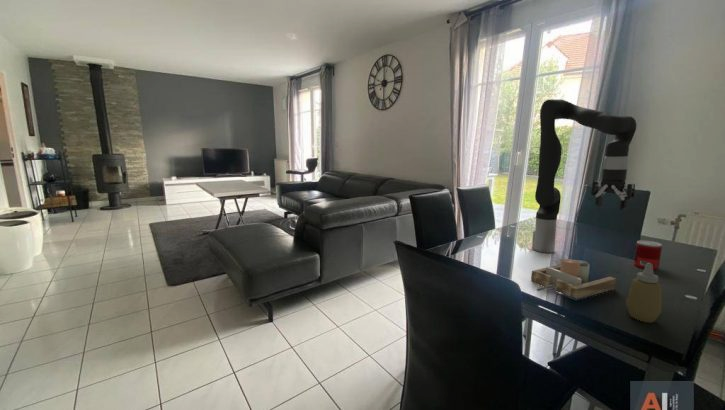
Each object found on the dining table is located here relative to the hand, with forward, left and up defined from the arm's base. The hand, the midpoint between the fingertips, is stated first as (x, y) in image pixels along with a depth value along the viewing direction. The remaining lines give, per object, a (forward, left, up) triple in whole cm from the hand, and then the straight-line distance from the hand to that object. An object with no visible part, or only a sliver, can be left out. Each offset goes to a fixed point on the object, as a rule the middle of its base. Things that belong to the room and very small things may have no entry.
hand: (610, 207), depth 122 cm
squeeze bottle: (+27, -26, -28) cm, 47 cm away
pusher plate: (+3, -35, -28) cm, 45 cm away
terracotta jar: (+3, -25, -28) cm, 38 cm away
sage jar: (+3, -19, -28) cm, 34 cm away
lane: (+3, -24, -28) cm, 37 cm away
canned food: (+4, +22, -28) cm, 36 cm away
